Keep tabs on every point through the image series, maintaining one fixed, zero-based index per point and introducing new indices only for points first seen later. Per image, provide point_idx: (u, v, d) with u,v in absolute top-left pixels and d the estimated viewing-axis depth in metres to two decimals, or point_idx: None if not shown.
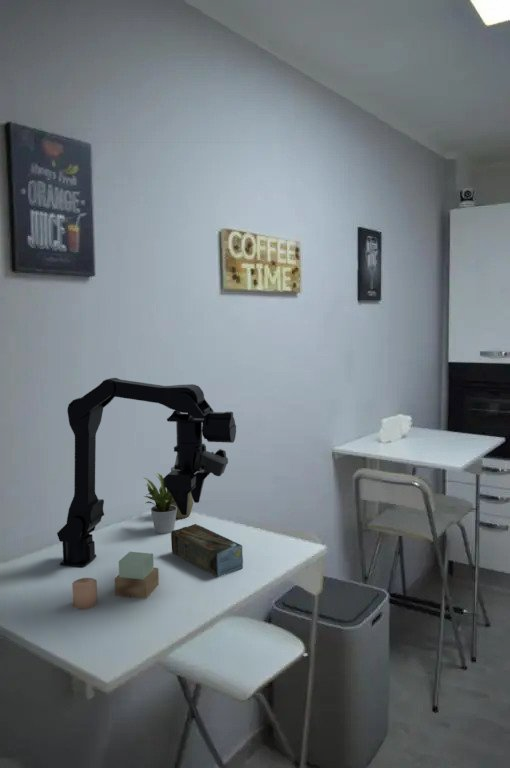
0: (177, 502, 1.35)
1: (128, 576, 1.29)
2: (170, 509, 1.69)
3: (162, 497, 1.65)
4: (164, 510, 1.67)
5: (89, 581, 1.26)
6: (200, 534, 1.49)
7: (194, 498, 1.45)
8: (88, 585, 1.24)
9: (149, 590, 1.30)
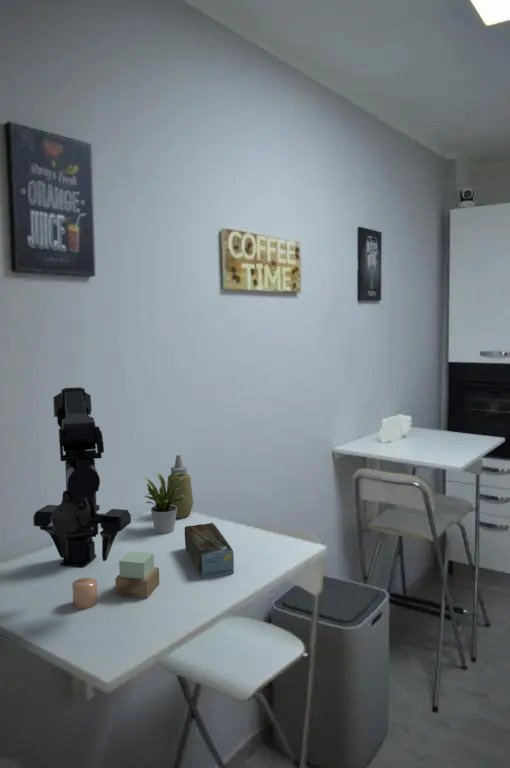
0: None
1: (128, 576, 1.29)
2: (170, 509, 1.69)
3: (162, 497, 1.65)
4: (164, 510, 1.67)
5: (89, 580, 1.26)
6: (205, 533, 1.49)
7: None
8: (88, 585, 1.24)
9: (150, 590, 1.30)
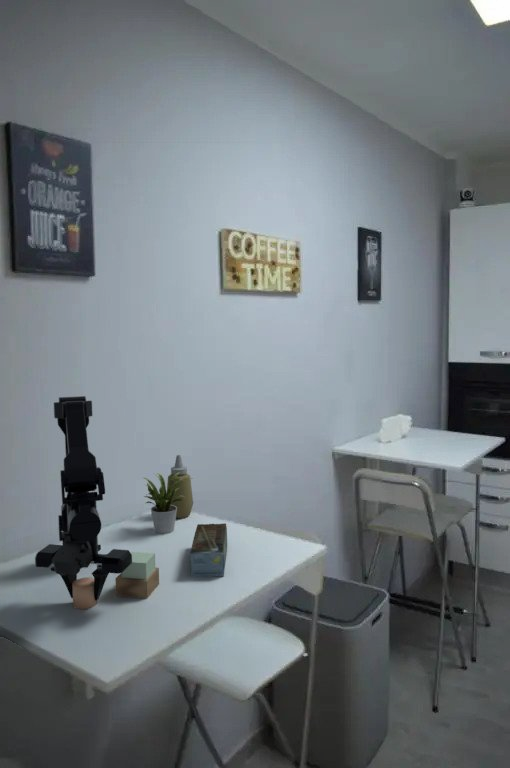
0: None
1: (131, 576, 1.29)
2: (170, 509, 1.69)
3: (162, 497, 1.65)
4: (164, 510, 1.67)
5: (89, 580, 1.26)
6: (210, 533, 1.49)
7: None
8: (88, 585, 1.24)
9: (150, 590, 1.30)
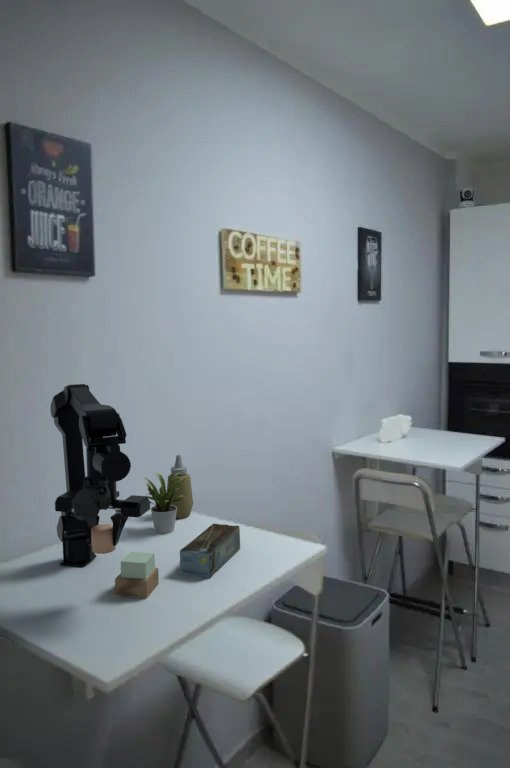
0: None
1: (130, 576, 1.29)
2: (170, 509, 1.69)
3: (162, 497, 1.65)
4: (164, 510, 1.67)
5: (108, 526, 1.27)
6: (215, 533, 1.49)
7: None
8: (106, 530, 1.25)
9: (150, 590, 1.30)
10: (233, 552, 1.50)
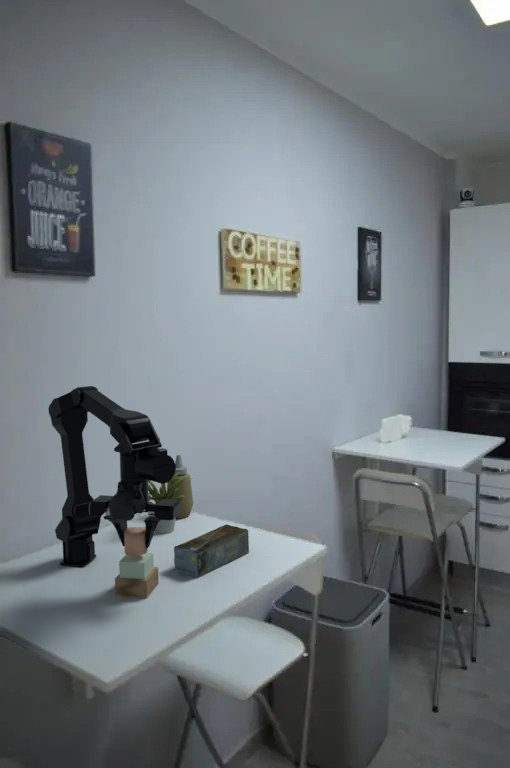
0: None
1: (129, 576, 1.29)
2: None
3: (162, 497, 1.65)
4: None
5: (140, 529, 1.31)
6: (218, 534, 1.49)
7: None
8: (139, 532, 1.29)
9: (149, 590, 1.30)
10: (236, 555, 1.48)
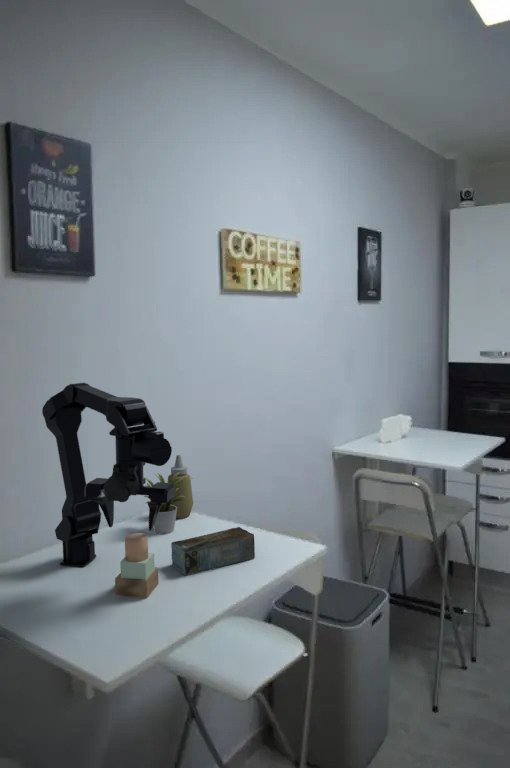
0: None
1: (130, 576, 1.29)
2: (170, 509, 1.69)
3: None
4: (164, 510, 1.67)
5: (140, 535, 1.31)
6: (221, 535, 1.48)
7: None
8: (140, 539, 1.29)
9: (150, 590, 1.30)
10: (237, 559, 1.46)
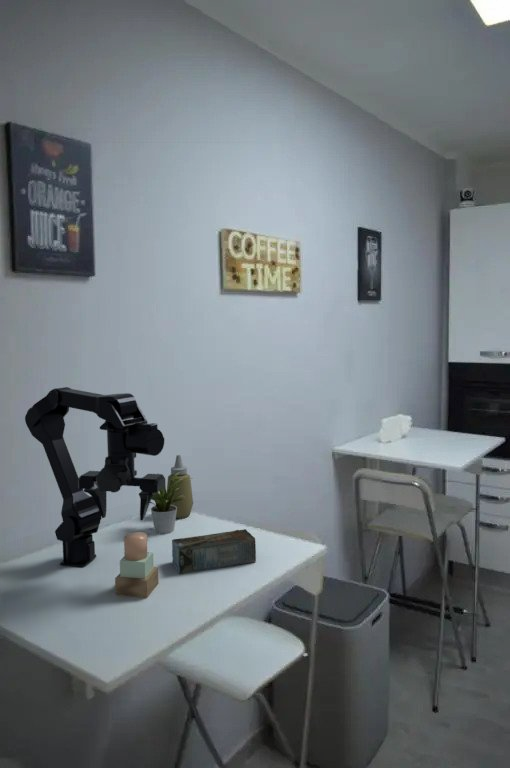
0: None
1: (129, 575, 1.29)
2: (170, 509, 1.69)
3: (162, 497, 1.65)
4: (164, 510, 1.67)
5: (139, 534, 1.32)
6: (222, 536, 1.47)
7: None
8: (139, 538, 1.30)
9: (150, 589, 1.30)
10: (236, 561, 1.45)
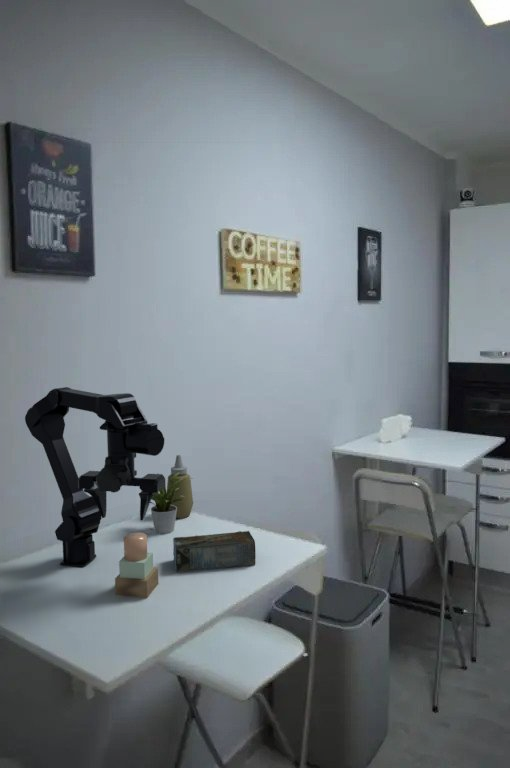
0: None
1: (129, 576, 1.29)
2: (170, 509, 1.69)
3: (162, 497, 1.65)
4: (164, 510, 1.67)
5: (139, 535, 1.32)
6: (223, 537, 1.46)
7: None
8: (139, 538, 1.30)
9: (150, 590, 1.30)
10: (234, 563, 1.44)
